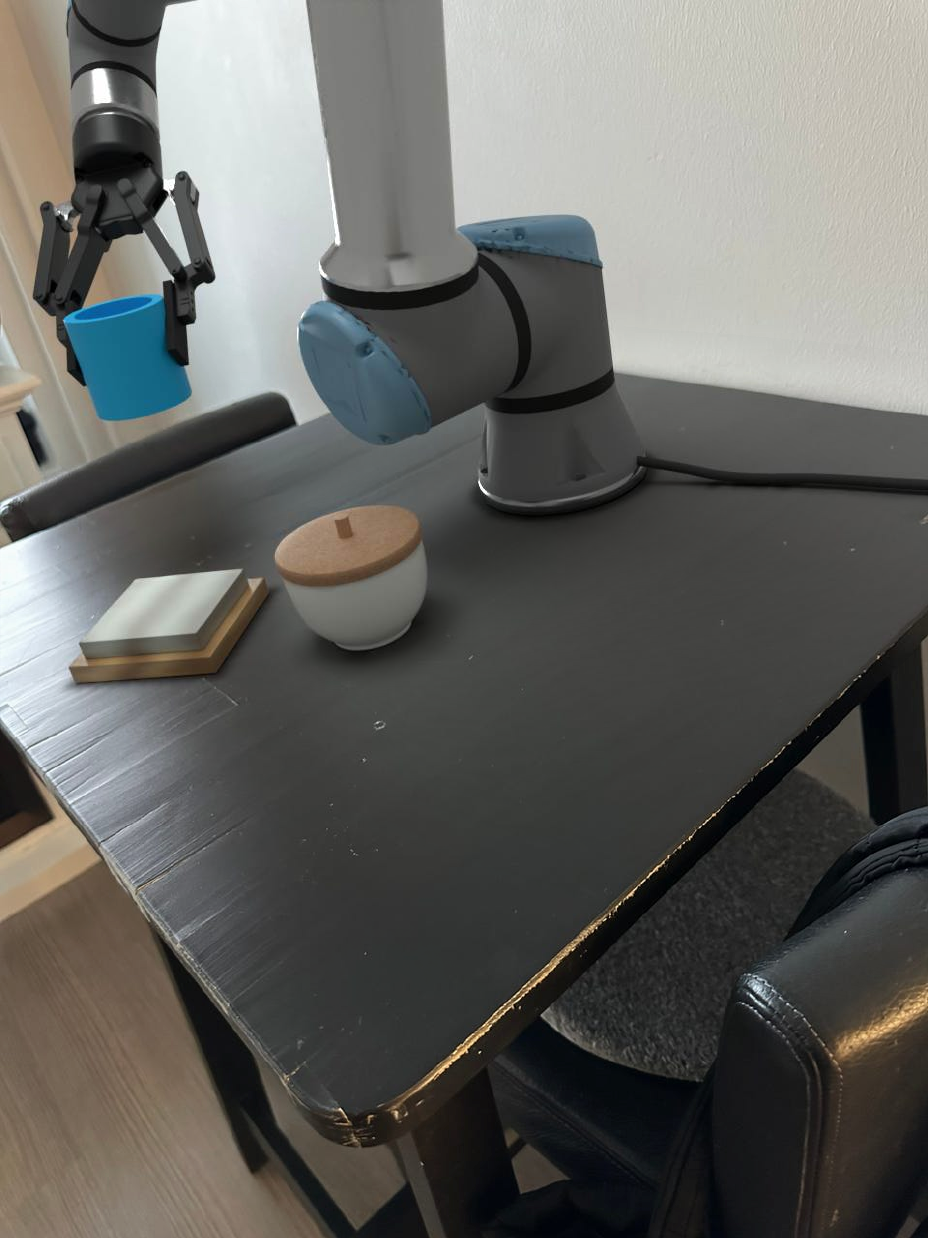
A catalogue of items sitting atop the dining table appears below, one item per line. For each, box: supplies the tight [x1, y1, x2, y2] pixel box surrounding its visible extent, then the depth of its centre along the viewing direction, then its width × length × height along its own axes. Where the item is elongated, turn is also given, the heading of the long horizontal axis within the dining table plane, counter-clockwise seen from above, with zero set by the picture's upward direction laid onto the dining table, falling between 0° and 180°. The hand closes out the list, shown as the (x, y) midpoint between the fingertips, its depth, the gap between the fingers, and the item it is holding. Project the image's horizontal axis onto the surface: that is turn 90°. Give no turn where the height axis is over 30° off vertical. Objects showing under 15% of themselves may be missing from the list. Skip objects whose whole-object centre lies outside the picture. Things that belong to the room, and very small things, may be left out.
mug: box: [63, 293, 193, 422], centre depth 88 cm, size 12×8×8 cm
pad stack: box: [68, 568, 270, 684], centre depth 82 cm, size 12×12×3 cm
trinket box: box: [273, 504, 428, 651], centre depth 75 cm, size 11×11×9 cm
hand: (128, 367), depth 85 cm, fingers closed on mug, 8 cm apart
